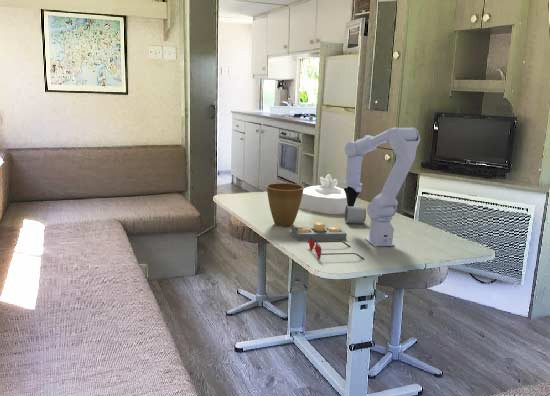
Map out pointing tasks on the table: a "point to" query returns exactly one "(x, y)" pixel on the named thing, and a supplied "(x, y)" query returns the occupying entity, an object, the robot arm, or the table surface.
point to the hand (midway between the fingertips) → (350, 206)
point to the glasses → (318, 252)
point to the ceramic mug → (355, 214)
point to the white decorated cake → (325, 197)
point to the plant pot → (284, 202)
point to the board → (318, 234)
